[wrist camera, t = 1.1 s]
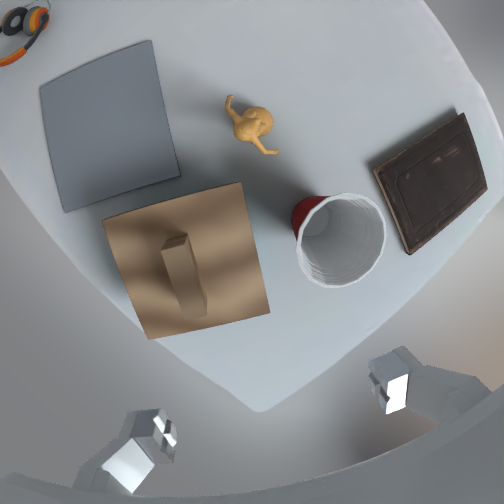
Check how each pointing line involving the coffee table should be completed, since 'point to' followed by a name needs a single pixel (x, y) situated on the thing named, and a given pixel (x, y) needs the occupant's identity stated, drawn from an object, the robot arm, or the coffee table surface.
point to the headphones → (24, 27)
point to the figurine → (251, 125)
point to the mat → (108, 128)
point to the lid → (189, 261)
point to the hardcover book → (432, 182)
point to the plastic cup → (338, 238)
